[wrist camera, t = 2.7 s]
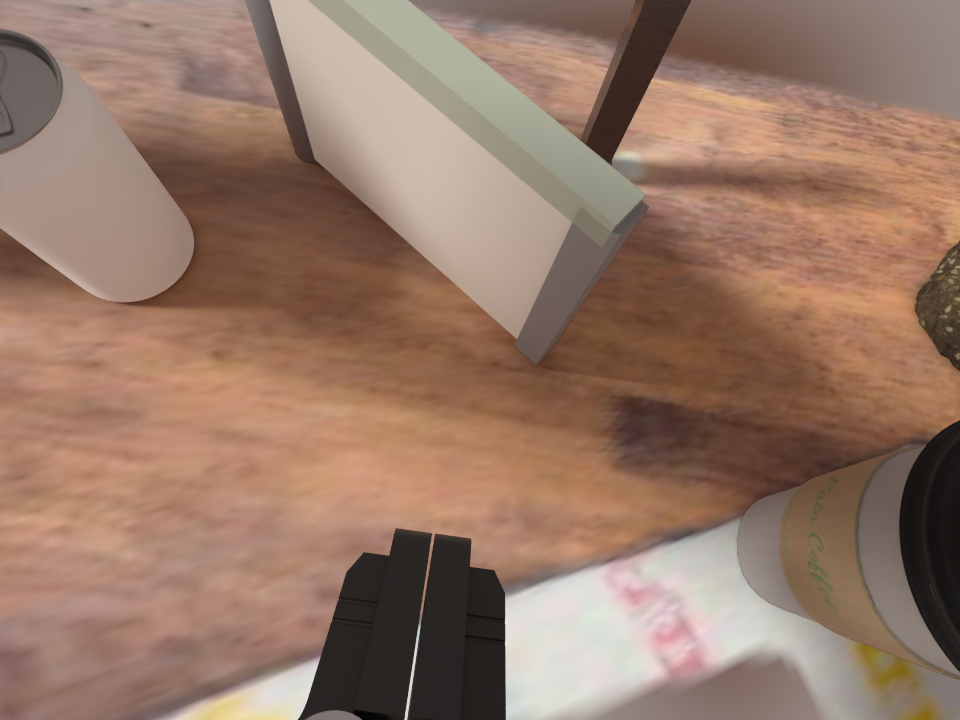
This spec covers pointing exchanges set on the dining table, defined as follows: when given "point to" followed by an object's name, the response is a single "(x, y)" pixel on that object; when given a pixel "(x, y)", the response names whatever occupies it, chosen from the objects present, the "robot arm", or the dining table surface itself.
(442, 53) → the gate
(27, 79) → the can
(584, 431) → the dining table surface
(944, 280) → the bread roll
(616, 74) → the gate frame
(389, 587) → the robot arm
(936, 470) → the coffee cup
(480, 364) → the dining table surface
